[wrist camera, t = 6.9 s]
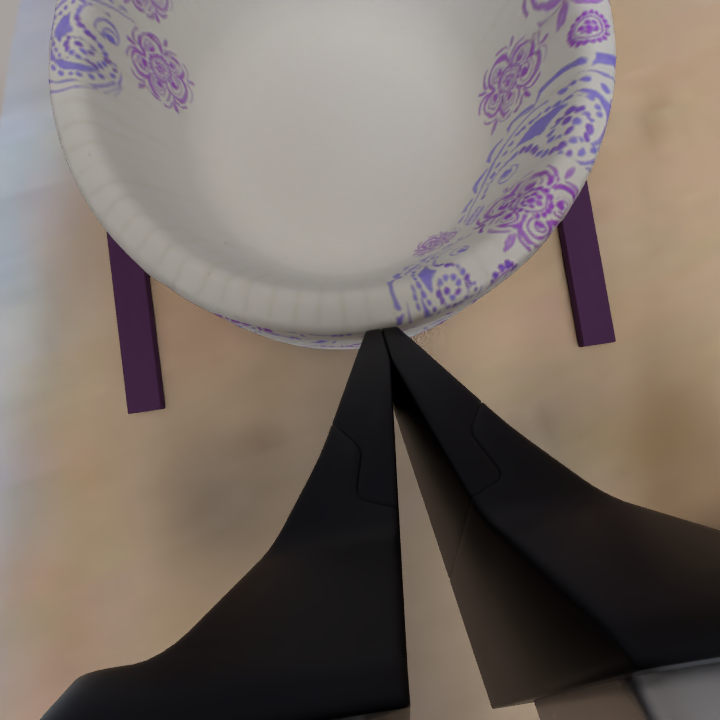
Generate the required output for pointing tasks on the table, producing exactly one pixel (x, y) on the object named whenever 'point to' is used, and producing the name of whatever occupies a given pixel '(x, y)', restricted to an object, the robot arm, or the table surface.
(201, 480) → the table surface
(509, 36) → the paper bowls
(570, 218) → the frame
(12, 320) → the table surface
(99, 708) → the robot arm
